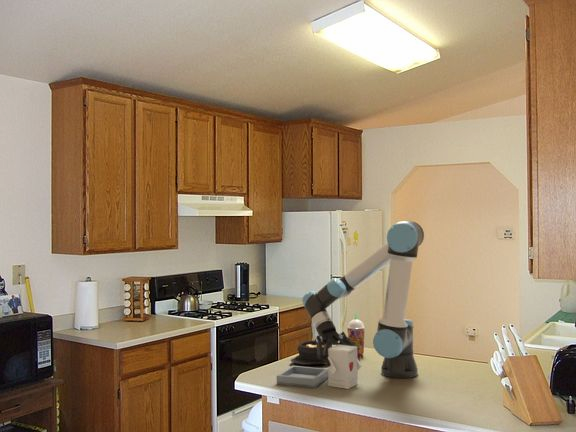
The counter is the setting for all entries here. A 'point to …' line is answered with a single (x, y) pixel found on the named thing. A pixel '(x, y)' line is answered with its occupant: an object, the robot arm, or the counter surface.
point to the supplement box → (343, 366)
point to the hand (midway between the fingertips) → (347, 370)
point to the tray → (302, 376)
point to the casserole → (308, 354)
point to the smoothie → (357, 334)
